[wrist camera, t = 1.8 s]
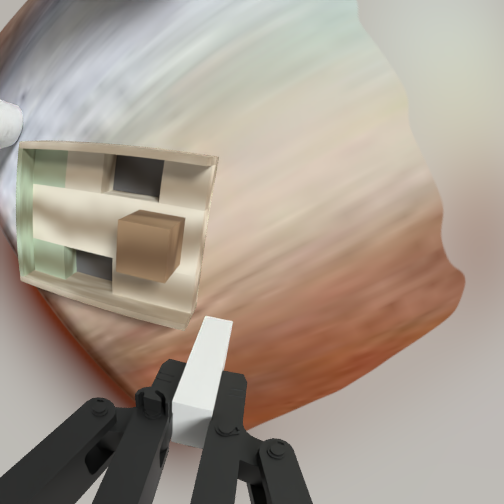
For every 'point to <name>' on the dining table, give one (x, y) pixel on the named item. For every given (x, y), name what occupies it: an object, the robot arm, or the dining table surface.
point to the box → (109, 222)
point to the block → (149, 245)
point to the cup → (9, 123)
